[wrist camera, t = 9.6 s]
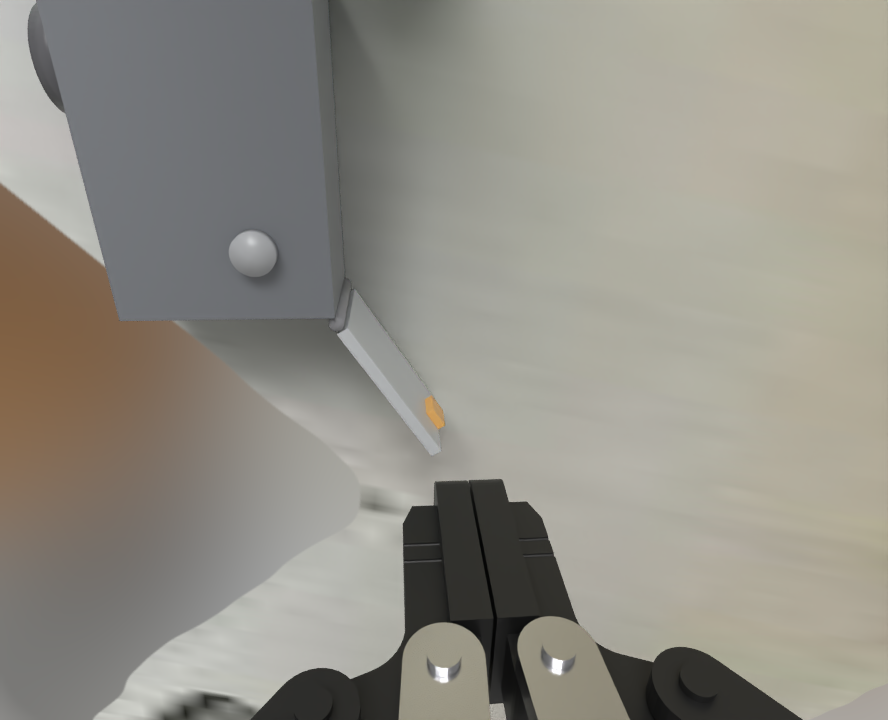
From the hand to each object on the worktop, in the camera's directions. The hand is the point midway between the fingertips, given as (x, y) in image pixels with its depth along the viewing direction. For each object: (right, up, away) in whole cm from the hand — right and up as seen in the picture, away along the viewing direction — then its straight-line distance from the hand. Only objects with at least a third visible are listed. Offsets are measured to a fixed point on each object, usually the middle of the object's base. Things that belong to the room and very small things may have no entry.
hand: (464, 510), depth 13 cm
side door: (-4, +5, +29) cm, 30 cm away
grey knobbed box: (-13, +17, +23) cm, 31 cm away
